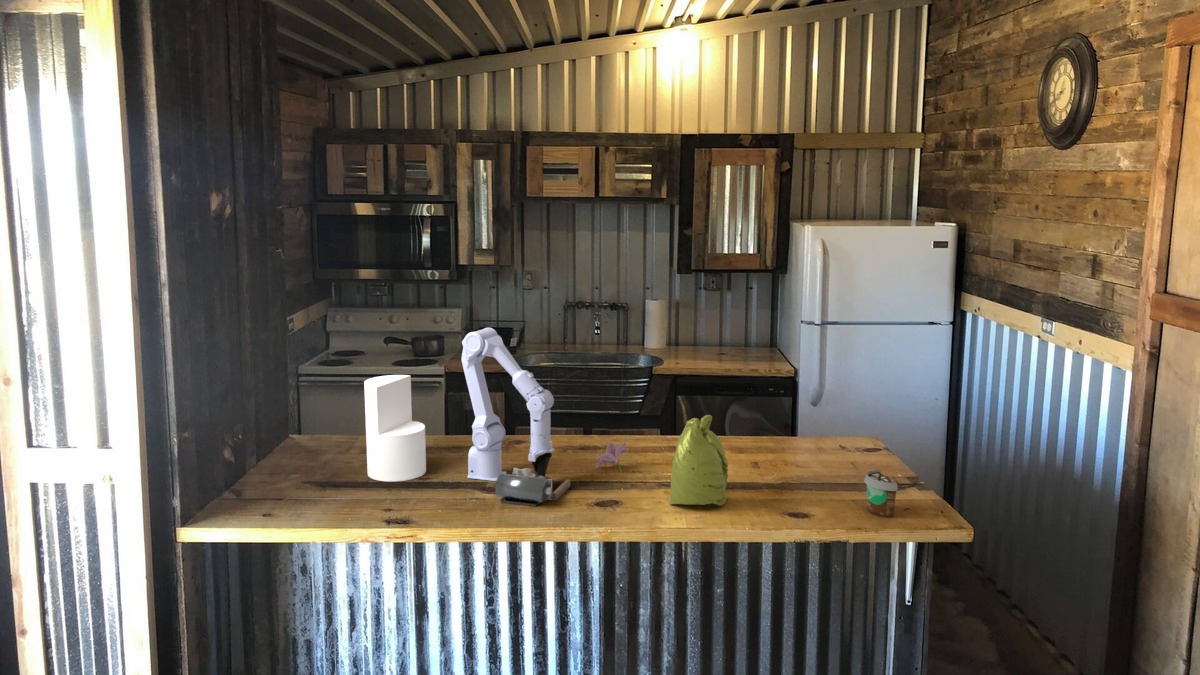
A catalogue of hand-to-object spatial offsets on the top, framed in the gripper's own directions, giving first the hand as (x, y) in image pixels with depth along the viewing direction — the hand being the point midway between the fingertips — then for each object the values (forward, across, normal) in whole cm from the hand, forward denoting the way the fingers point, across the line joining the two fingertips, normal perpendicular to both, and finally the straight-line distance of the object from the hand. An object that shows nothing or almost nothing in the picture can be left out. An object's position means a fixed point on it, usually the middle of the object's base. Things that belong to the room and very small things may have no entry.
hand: (540, 478), depth 264 cm
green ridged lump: (+2, +5, -46) cm, 46 cm away
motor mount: (+2, -8, 0) cm, 9 cm away
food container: (+2, +8, -93) cm, 93 cm away
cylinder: (+2, -3, +45) cm, 45 cm away
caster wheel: (+2, -6, 0) cm, 6 cm away
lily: (+2, +20, -16) cm, 26 cm away
